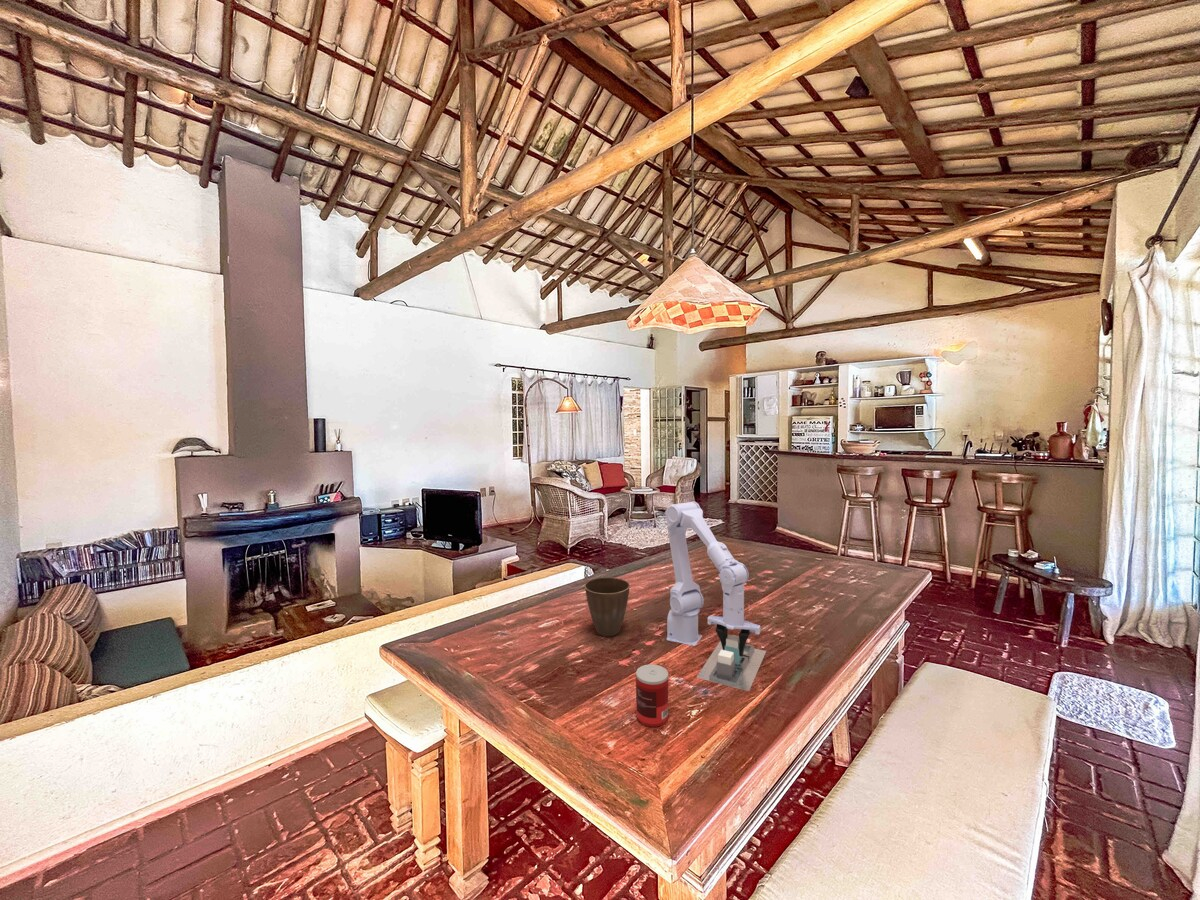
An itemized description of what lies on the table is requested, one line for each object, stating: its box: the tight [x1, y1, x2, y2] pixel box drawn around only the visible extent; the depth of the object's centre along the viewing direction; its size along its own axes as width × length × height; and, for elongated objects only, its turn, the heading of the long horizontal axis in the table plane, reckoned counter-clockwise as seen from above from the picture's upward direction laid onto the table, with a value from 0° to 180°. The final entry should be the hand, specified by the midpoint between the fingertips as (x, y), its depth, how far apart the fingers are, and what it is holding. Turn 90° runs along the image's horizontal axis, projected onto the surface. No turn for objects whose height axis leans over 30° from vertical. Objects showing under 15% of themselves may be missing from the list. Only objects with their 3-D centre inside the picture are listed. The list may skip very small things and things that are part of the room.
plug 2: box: [717, 650, 735, 680], centre depth 130 cm, size 4×4×6 cm
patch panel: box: [696, 640, 767, 692], centre depth 137 cm, size 14×24×2 cm, turn 151°
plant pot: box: [584, 577, 631, 637], centre depth 159 cm, size 15×15×16 cm
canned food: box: [635, 664, 669, 728], centre depth 113 cm, size 8×8×11 cm
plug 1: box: [725, 634, 742, 665], centre depth 137 cm, size 4×4×6 cm
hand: (733, 652), depth 137 cm, fingers closed on plug 1, 4 cm apart
